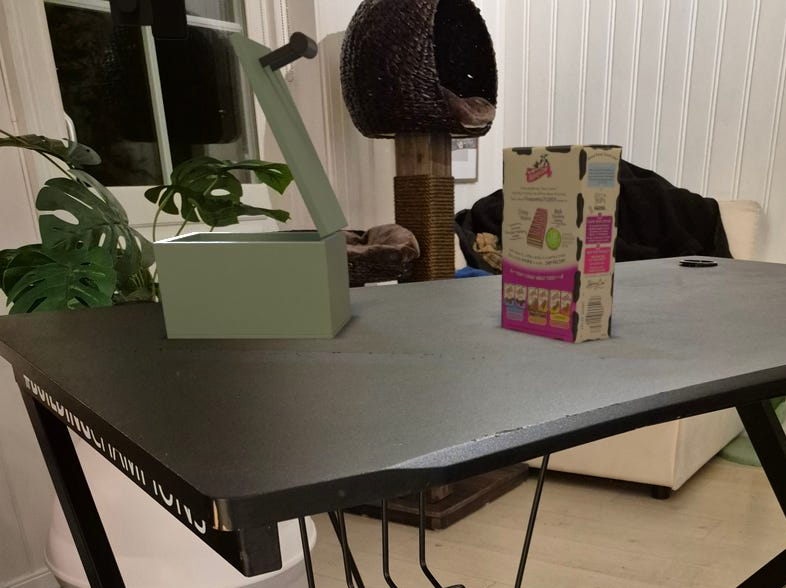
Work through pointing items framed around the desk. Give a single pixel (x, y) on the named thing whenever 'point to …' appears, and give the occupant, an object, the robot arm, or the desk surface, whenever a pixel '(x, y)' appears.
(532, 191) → the candy bar box
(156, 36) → the robot arm
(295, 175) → the lid
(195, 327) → the bin
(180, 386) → the desk surface
